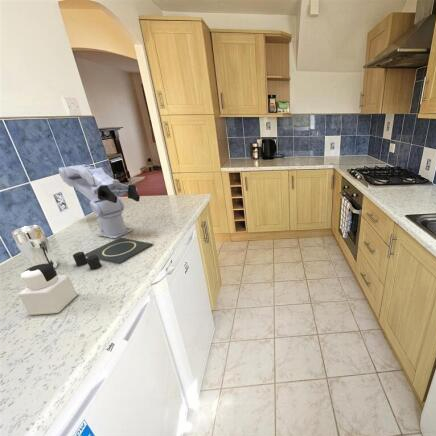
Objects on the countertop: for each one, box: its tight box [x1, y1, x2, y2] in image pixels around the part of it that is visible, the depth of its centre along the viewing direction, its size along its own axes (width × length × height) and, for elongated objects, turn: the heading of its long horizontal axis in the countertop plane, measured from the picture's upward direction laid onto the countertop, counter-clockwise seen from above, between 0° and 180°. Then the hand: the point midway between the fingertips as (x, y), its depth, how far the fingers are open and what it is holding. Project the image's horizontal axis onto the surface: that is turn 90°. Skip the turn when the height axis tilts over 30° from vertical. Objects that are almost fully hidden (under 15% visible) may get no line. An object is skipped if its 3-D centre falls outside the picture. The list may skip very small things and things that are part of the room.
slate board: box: [84, 237, 154, 265], centre depth 93 cm, size 18×14×1 cm
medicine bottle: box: [17, 264, 78, 316], centre depth 64 cm, size 7×7×12 cm
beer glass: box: [10, 224, 58, 269], centre depth 80 cm, size 7×7×15 cm
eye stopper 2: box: [86, 255, 102, 271], centre depth 82 cm, size 3×3×4 cm
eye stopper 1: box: [72, 251, 88, 267], centre depth 84 cm, size 3×3×4 cm
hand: (127, 199), depth 88 cm, fingers open, 7 cm apart
